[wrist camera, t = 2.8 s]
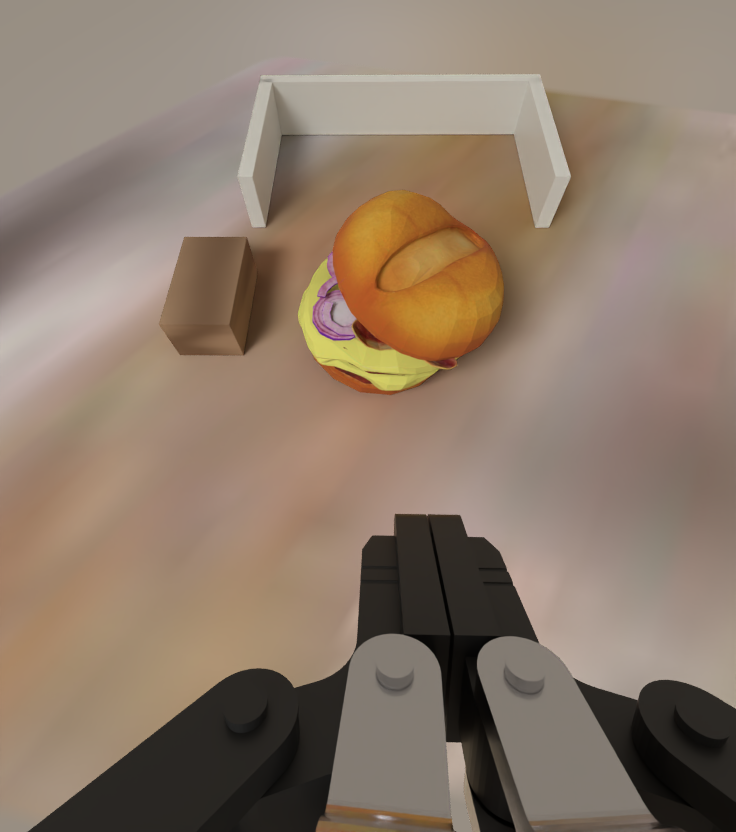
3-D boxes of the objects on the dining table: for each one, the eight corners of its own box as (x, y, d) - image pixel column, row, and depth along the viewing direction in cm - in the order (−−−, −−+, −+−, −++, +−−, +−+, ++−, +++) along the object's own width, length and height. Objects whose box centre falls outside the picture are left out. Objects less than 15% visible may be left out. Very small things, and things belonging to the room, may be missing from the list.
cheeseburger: (321, 262, 30) (348, 120, 22) (461, 314, 32) (541, 198, 23) (272, 381, 26) (281, 262, 17) (437, 436, 27) (526, 352, 18)
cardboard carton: (180, 354, 27) (158, 324, 24) (201, 272, 30) (184, 237, 28) (243, 355, 27) (229, 324, 24) (257, 272, 30) (246, 237, 28)
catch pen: (252, 227, 32) (237, 176, 29) (271, 128, 38) (260, 75, 34) (548, 227, 32) (570, 176, 28) (523, 127, 38) (539, 74, 34)
